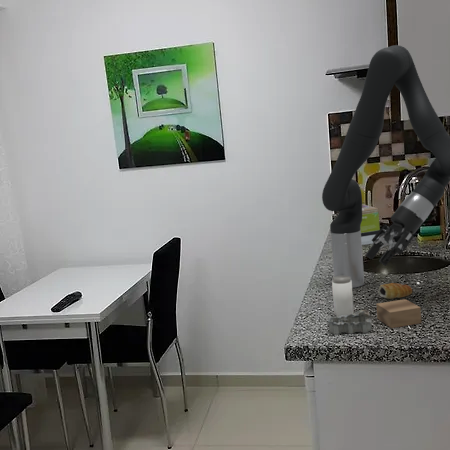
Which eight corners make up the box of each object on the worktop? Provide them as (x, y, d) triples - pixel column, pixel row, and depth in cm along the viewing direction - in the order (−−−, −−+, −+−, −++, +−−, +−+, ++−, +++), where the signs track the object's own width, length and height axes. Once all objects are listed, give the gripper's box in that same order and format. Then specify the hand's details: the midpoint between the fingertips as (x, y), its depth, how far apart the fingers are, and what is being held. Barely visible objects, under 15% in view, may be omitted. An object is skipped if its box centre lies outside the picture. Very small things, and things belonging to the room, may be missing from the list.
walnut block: (377, 318, 152) (376, 303, 151) (406, 313, 153) (405, 299, 152) (391, 328, 144) (390, 312, 143) (421, 323, 145) (420, 307, 145)
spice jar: (331, 312, 161) (328, 276, 159) (349, 309, 162) (347, 274, 160) (338, 317, 156) (335, 281, 154) (356, 314, 156) (354, 278, 155)
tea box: (344, 240, 256) (342, 206, 253) (366, 237, 257) (364, 203, 255) (358, 245, 241) (356, 210, 239) (381, 242, 243) (379, 207, 240)
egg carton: (371, 324, 149) (370, 308, 148) (372, 334, 142) (371, 318, 141) (328, 325, 151) (327, 310, 151) (327, 335, 144) (326, 319, 143)
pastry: (405, 290, 174) (404, 277, 174) (417, 296, 168) (416, 283, 167) (376, 295, 172) (375, 282, 172) (387, 301, 166) (387, 288, 165)
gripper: (390, 202, 164) (354, 247, 164) (415, 207, 150) (376, 257, 150) (409, 218, 166) (373, 263, 166) (435, 225, 152) (397, 274, 152)
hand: (375, 260), depth 158 cm, fingers open, 8 cm apart
